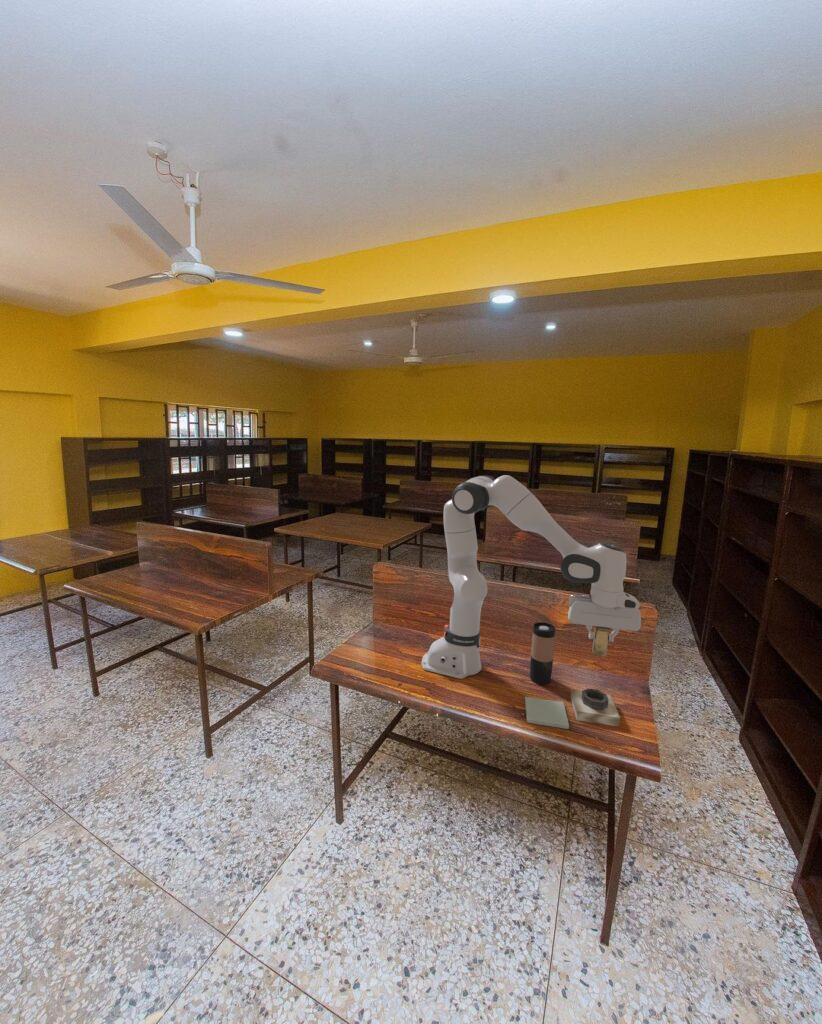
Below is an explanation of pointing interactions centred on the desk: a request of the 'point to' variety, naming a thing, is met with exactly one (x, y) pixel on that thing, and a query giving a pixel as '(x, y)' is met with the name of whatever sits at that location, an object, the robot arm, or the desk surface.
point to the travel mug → (542, 653)
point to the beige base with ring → (594, 707)
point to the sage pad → (546, 712)
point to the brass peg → (600, 641)
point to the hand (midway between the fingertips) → (600, 639)
